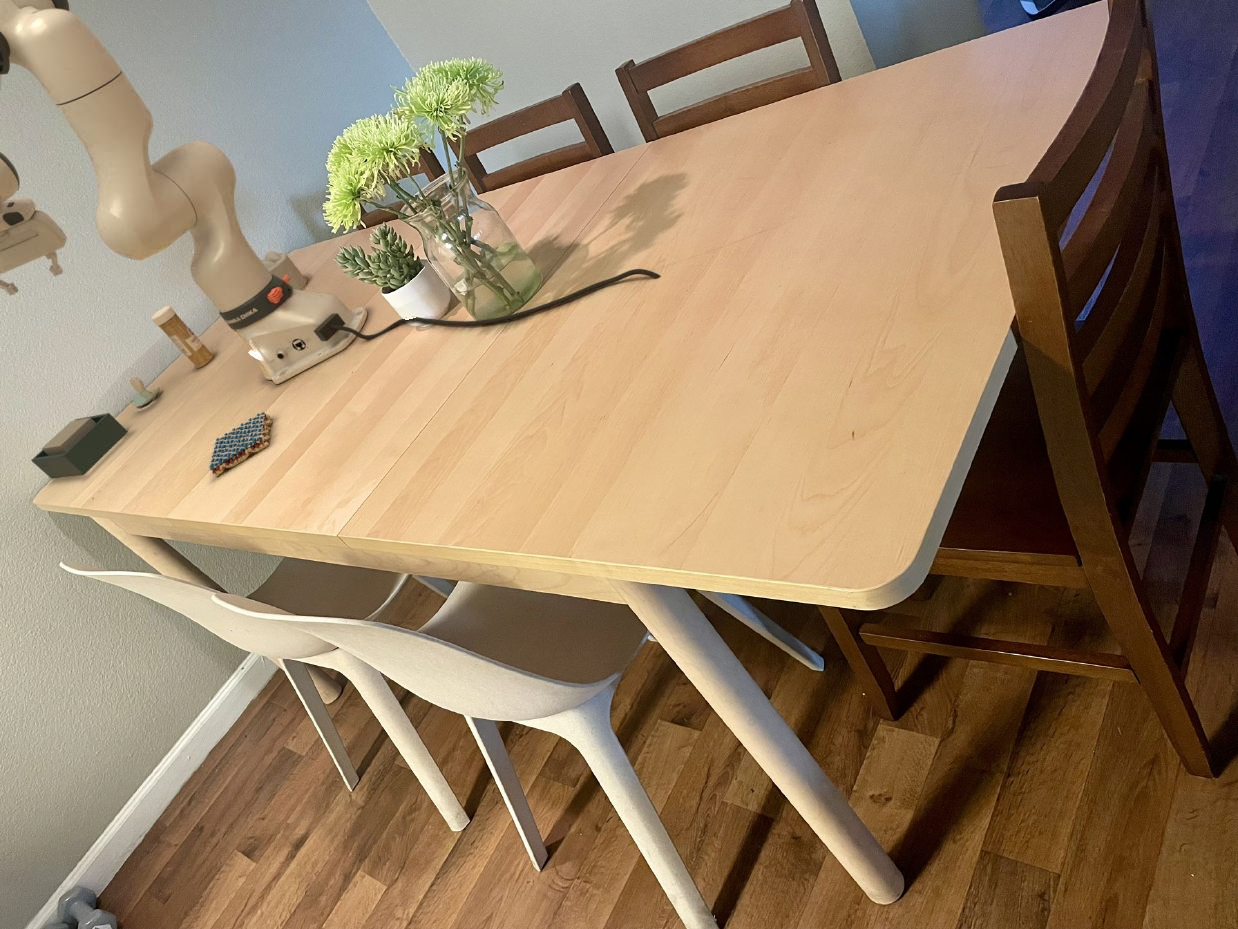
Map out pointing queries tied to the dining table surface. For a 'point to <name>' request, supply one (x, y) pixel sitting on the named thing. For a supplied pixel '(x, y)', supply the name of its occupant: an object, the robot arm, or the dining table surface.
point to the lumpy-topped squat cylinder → (284, 269)
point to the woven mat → (240, 443)
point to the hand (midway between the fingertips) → (37, 283)
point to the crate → (83, 449)
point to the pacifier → (142, 394)
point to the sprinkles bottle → (182, 336)
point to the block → (68, 436)
